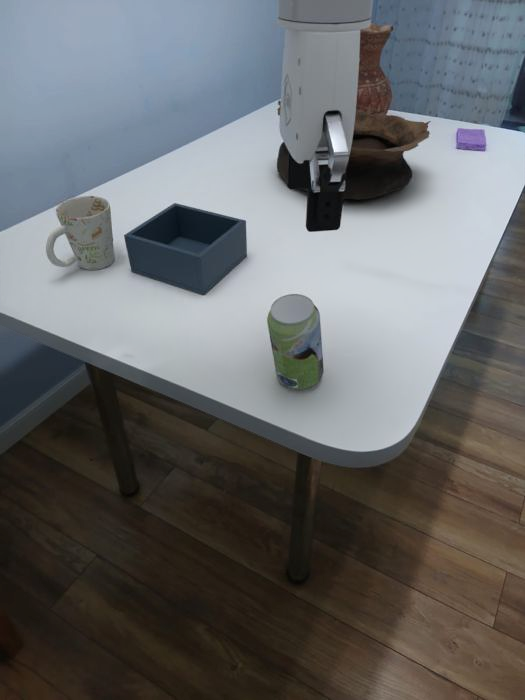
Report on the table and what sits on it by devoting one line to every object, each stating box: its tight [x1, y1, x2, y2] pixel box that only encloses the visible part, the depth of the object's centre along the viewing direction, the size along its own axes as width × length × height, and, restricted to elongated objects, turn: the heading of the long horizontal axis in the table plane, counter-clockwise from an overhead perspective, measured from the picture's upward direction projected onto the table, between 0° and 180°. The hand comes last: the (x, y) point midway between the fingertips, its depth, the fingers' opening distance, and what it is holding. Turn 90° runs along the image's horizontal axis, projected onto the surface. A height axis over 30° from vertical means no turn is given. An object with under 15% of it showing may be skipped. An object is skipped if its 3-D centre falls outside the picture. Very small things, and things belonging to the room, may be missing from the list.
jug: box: [356, 21, 394, 116], centre depth 132 cm, size 22×21×25 cm
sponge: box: [455, 127, 488, 152], centre depth 130 cm, size 7×13×2 cm, turn 164°
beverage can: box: [266, 293, 325, 390], centre depth 59 cm, size 6×7×12 cm
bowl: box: [276, 100, 432, 200], centre depth 108 cm, size 34×33×15 cm
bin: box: [123, 202, 248, 296], centre depth 82 cm, size 15×14×7 cm
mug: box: [45, 195, 115, 271], centre depth 81 cm, size 8×13×10 cm, turn 148°
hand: (311, 207), depth 50 cm, fingers open, 9 cm apart
